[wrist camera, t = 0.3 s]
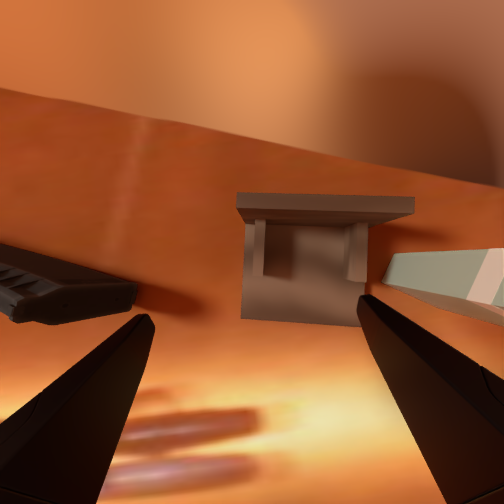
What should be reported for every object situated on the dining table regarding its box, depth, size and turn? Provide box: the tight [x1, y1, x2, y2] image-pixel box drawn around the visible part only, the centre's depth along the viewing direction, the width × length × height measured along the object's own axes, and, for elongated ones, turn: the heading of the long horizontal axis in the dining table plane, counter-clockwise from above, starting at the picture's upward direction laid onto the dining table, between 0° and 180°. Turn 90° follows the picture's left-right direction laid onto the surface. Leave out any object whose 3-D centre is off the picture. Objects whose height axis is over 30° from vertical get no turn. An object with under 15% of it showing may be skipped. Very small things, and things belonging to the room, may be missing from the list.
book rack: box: [236, 192, 415, 327], centre depth 19 cm, size 12×13×8 cm
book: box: [381, 248, 504, 327], centre depth 15 cm, size 4×6×13 cm, turn 65°
